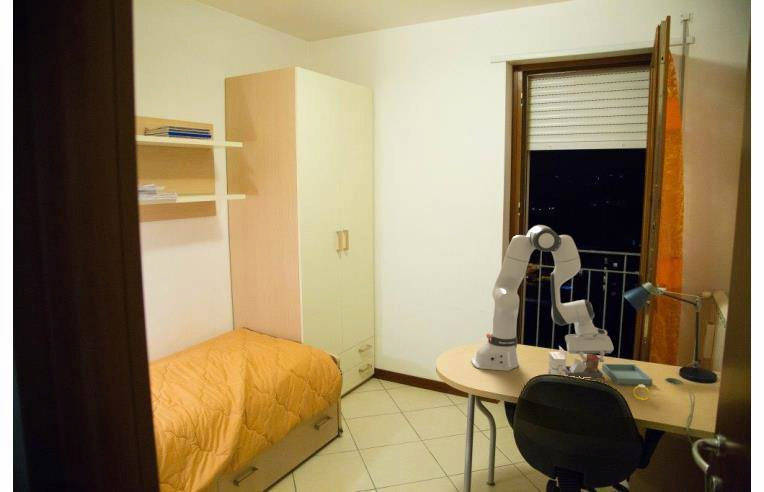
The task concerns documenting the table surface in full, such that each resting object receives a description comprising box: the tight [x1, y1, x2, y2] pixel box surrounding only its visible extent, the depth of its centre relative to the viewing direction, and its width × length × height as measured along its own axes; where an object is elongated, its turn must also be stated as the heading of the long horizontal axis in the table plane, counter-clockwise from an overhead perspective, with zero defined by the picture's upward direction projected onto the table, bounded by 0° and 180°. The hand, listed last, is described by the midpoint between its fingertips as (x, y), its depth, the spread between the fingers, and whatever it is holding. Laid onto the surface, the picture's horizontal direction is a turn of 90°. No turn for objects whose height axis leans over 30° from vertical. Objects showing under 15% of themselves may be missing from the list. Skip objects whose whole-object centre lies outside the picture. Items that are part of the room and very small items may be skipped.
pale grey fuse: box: [570, 358, 587, 373], centre depth 216 cm, size 4×4×6 cm
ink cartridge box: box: [547, 345, 567, 376], centre depth 211 cm, size 9×5×15 cm, turn 179°
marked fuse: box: [585, 353, 600, 373], centre depth 216 cm, size 4×4×9 cm
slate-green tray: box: [601, 363, 653, 387], centre depth 213 cm, size 15×17×3 cm
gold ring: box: [632, 384, 651, 401], centre depth 193 cm, size 6×3×6 cm, turn 57°
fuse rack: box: [565, 365, 604, 379], centre depth 217 cm, size 15×8×2 cm, turn 86°
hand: (593, 361), depth 216 cm, fingers open, 6 cm apart
